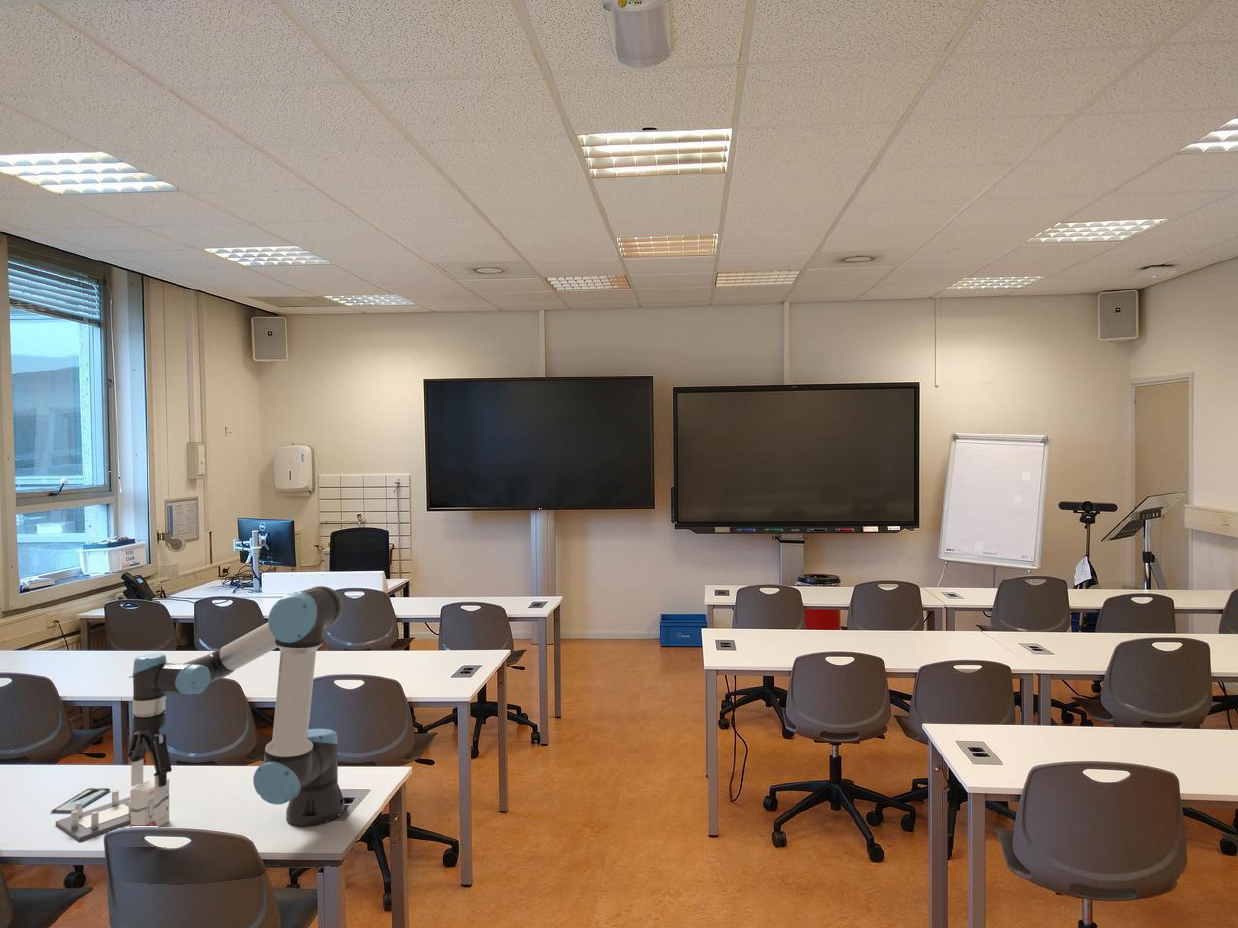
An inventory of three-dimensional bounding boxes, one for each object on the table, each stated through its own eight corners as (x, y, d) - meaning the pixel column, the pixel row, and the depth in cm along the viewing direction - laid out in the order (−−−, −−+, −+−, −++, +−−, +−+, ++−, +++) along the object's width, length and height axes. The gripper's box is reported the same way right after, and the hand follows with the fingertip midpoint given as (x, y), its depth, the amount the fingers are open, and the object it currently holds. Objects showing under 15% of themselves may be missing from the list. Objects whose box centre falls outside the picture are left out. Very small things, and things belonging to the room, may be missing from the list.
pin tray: (154, 814, 212) (153, 796, 212) (79, 841, 198) (79, 822, 198) (128, 800, 222) (128, 783, 222) (55, 824, 207) (55, 806, 207)
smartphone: (48, 811, 214) (88, 787, 229) (48, 815, 214) (88, 791, 229) (74, 812, 214) (111, 788, 229) (74, 815, 214) (111, 791, 229)
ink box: (145, 835, 200) (144, 791, 200) (129, 834, 201) (128, 789, 201) (170, 820, 209) (170, 777, 209) (155, 819, 210) (154, 776, 210)
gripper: (186, 718, 201) (185, 798, 201) (143, 700, 215) (142, 774, 215) (156, 725, 195) (155, 808, 195) (113, 707, 209) (113, 783, 209)
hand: (148, 791), depth 205 cm, fingers open, 13 cm apart
